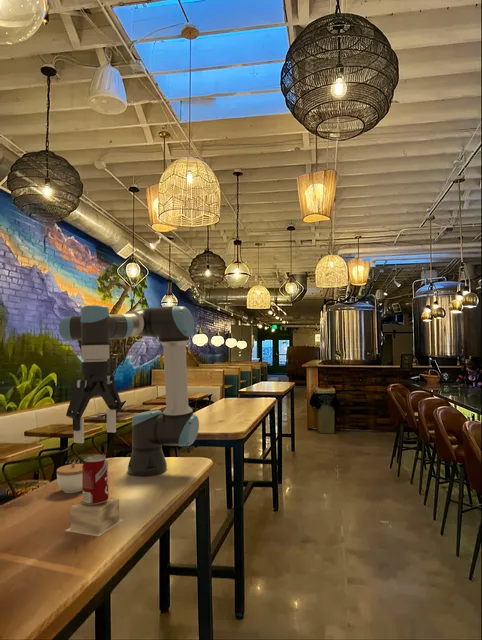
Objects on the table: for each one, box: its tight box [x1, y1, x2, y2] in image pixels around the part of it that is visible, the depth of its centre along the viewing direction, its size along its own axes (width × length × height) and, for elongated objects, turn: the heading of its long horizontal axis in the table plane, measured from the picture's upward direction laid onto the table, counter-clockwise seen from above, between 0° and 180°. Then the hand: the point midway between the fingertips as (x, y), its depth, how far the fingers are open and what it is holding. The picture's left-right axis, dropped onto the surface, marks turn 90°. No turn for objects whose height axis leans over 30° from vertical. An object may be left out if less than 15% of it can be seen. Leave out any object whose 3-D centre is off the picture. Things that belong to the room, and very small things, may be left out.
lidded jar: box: [56, 462, 84, 494], centre depth 154 cm, size 11×11×9 cm
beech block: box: [69, 497, 120, 534], centre depth 121 cm, size 9×9×6 cm
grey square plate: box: [64, 518, 125, 537], centre depth 122 cm, size 14×14×1 cm
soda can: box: [82, 455, 109, 506], centre depth 122 cm, size 7×7×12 cm
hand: (96, 437), depth 123 cm, fingers open, 13 cm apart
